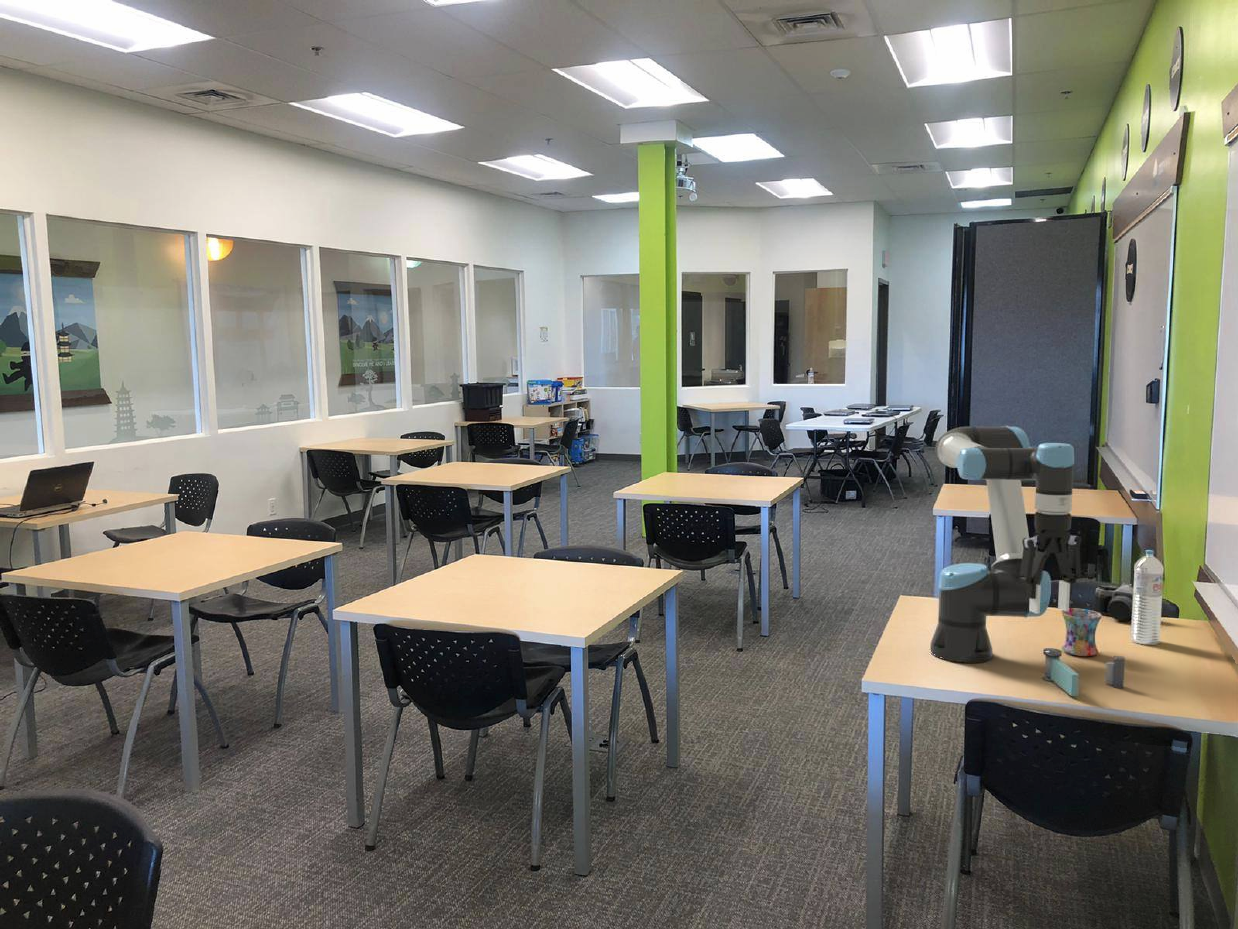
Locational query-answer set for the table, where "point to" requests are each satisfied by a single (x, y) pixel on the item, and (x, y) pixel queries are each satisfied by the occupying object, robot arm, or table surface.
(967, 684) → the table surface
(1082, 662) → the table surface
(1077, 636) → the mug
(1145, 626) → the water bottle
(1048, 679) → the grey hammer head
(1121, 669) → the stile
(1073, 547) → the robot arm
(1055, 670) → the teal rectangular bar
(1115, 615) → the camera
